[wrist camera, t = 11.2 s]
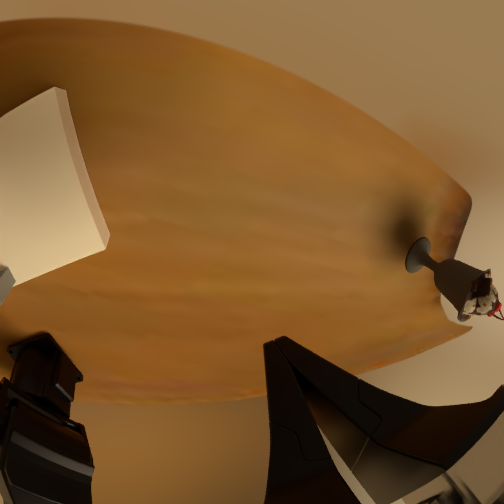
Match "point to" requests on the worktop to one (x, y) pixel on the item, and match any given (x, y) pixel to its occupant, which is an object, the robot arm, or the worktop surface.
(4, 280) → the lane walls
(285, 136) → the worktop surface
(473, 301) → the sundae
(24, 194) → the deck
